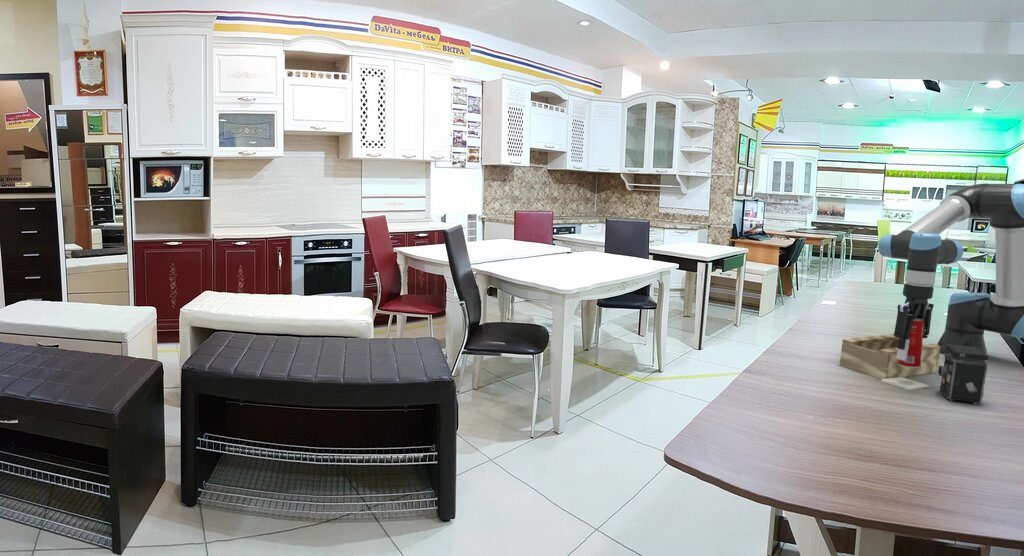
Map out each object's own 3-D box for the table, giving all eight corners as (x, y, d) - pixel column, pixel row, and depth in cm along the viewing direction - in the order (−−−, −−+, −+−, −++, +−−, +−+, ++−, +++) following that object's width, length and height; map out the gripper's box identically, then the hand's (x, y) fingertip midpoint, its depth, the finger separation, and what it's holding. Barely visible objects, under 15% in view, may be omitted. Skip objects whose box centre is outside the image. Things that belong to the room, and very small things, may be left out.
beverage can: (923, 369, 183) (930, 321, 180) (899, 367, 184) (906, 319, 182) (914, 364, 188) (921, 317, 186) (891, 362, 190) (898, 315, 187)
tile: (899, 378, 193) (900, 376, 193) (928, 387, 185) (928, 385, 185) (880, 381, 189) (881, 379, 189) (909, 390, 181) (909, 388, 181)
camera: (971, 394, 180) (979, 345, 177) (985, 406, 170) (994, 355, 167) (930, 389, 183) (938, 341, 181) (942, 400, 173) (950, 350, 171)
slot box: (890, 358, 216) (893, 334, 214) (936, 372, 201) (940, 345, 200) (839, 365, 205) (842, 339, 204) (884, 379, 191) (888, 352, 189)
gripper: (926, 281, 189) (915, 352, 193) (886, 283, 182) (876, 357, 185) (951, 285, 182) (939, 359, 186) (911, 287, 175) (900, 364, 178)
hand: (908, 358), depth 186 cm, fingers closed on beverage can, 6 cm apart
